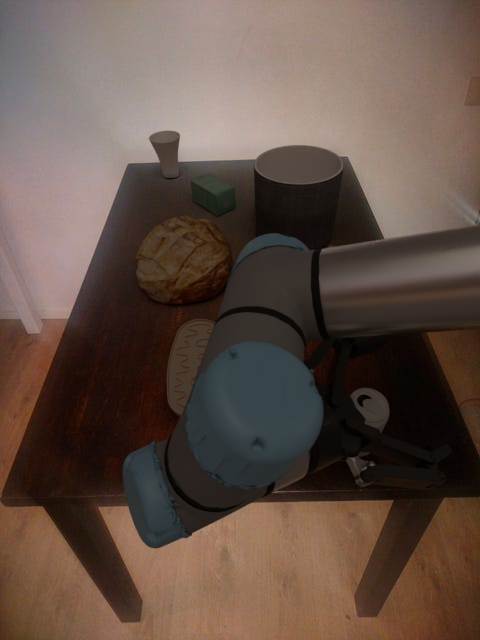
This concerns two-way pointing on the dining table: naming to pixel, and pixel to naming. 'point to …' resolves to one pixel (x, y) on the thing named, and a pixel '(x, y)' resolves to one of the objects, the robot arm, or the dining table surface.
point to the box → (213, 194)
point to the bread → (184, 261)
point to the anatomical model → (186, 361)
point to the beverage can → (371, 408)
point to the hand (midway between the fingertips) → (418, 384)
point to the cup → (166, 150)
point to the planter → (297, 193)
